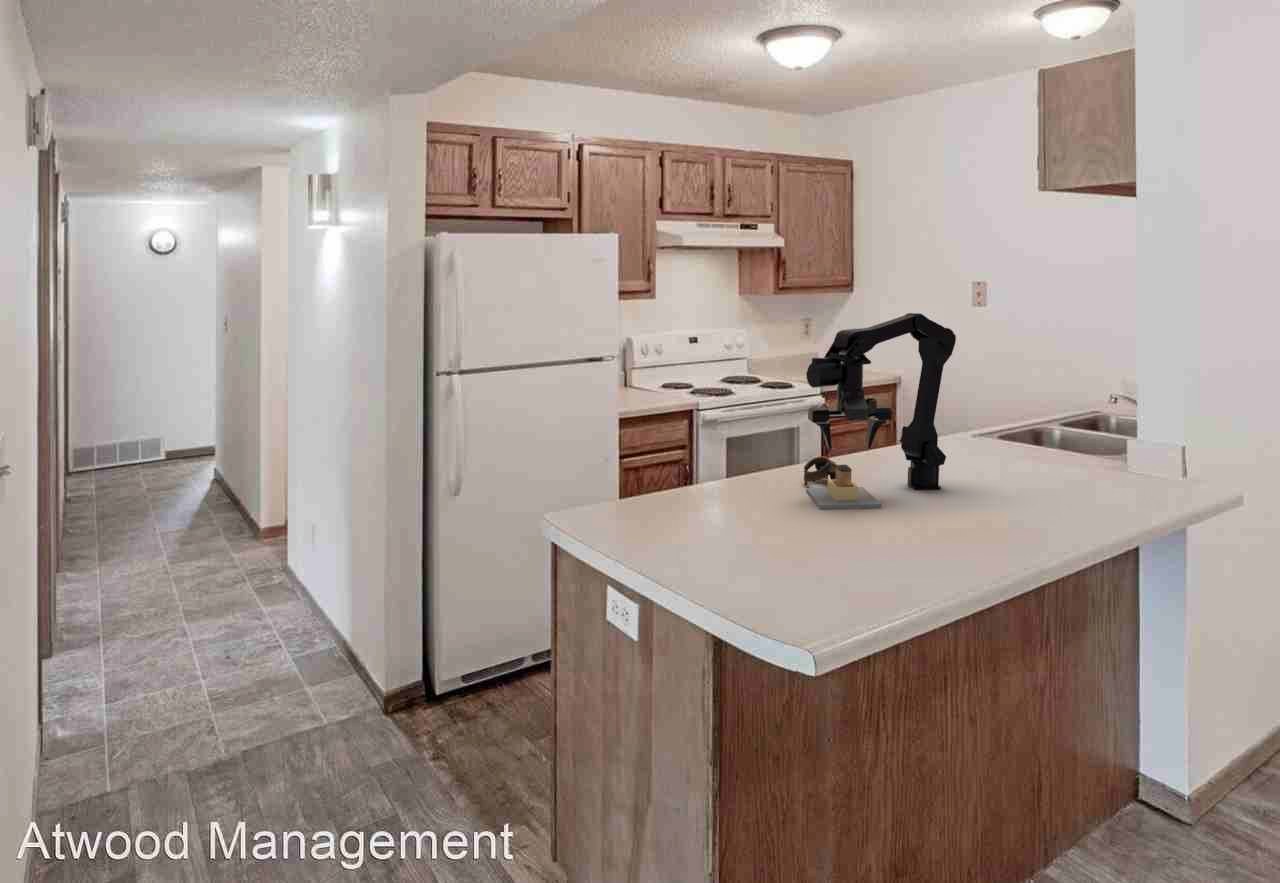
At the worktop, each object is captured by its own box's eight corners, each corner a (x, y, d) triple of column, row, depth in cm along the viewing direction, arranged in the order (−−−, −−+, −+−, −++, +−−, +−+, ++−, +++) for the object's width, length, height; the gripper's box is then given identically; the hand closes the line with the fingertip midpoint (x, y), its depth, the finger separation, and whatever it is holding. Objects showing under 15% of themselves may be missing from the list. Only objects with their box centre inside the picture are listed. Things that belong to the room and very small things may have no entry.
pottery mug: (849, 490, 216) (836, 464, 213) (814, 505, 219) (801, 480, 216) (840, 468, 227) (828, 443, 224) (807, 482, 230) (794, 458, 226)
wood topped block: (845, 493, 208) (846, 464, 206) (850, 498, 203) (851, 469, 201) (835, 493, 208) (835, 464, 206) (840, 498, 203) (840, 469, 201)
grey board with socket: (862, 490, 213) (863, 475, 213) (881, 508, 198) (881, 491, 197) (806, 492, 213) (806, 476, 213) (819, 509, 198) (820, 492, 197)
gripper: (817, 390, 195) (817, 458, 198) (900, 387, 195) (898, 455, 198) (807, 384, 206) (807, 448, 209) (885, 381, 206) (884, 445, 209)
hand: (849, 449), depth 206 cm, fingers open, 9 cm apart
